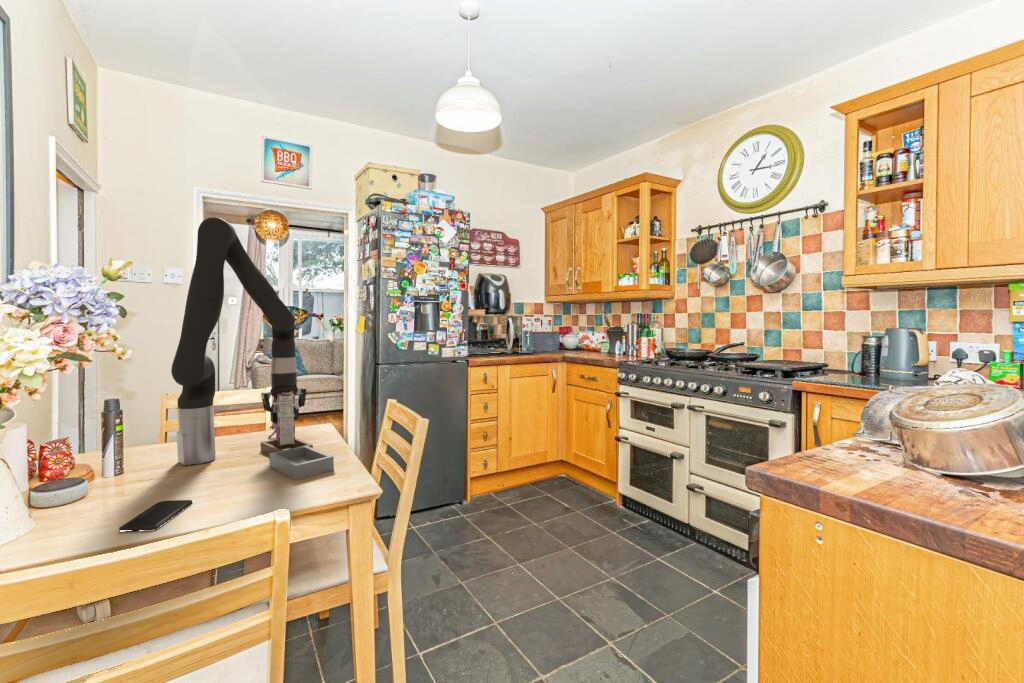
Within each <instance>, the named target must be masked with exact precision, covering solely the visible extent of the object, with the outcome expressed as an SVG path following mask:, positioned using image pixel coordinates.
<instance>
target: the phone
mask: <svg viewBox="0 0 1024 683" xmlns="http://www.w3.org/2000/svg"><path fill="white" fill-rule="evenodd" d="M191 504H192V505H193V500H192V499H182V500H181V499H179V500H163V501H159V502H156V503H154V505H152V506H151V507H148V508H147V509H146V510H144V511H143V512H141V513H139V514H138V515H136V516H135V517H133V518H131V519H130V520H128V521H127V522H125V523H124V524H123V525H120V526H119V527H118V531H119V530H133V531H138V530H153V529H157V528H159V527H160V526H161V525H163V524H164V523H165V522H167V521H168V520H170V519H171V518H172V517H174V516H176V515H177V514H178V513H179V512H181V511H182V510H183V509H185V508H186V507H188V506H189V505H190V506H192V505H191ZM190 506H189V507H190ZM189 507H188V508H189ZM186 509H187V508H186ZM186 509H185V510H186ZM182 512H183V511H182ZM182 512H181V513H182ZM178 515H179V514H178ZM178 515H177V516H178ZM174 518H175V517H174ZM171 520H172V519H171ZM171 520H170V521H171ZM167 523H168V522H167ZM163 526H164V525H163ZM159 529H160V528H159ZM157 530H158V529H157Z"/></svg>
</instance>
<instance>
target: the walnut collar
mask: <svg viewBox="0 0 1024 683" xmlns="http://www.w3.org/2000/svg"><path fill="white" fill-rule="evenodd" d="M290 445H291V446H293V447H292V448H294V447H295V448H297V447H301V446H309V447H311V448H314V446H313V445H314V444H311V443H309V442H307V441H304V440H301V439H299V438H296V437H295V444H290ZM283 446H286V447H288V446H287V445H279V443H278V440H277V438H275V439H270V440H269V439H268V440H265V441H260V451H261V453H264V454H266V455H268V454H269V453H274V452H278V451H283V450H284V449H281V448H284V447H283ZM291 446H290V447H291ZM279 447H281V448H279Z"/></svg>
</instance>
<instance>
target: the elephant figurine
mask: <svg viewBox="0 0 1024 683" xmlns="http://www.w3.org/2000/svg"><path fill="white" fill-rule="evenodd" d="M269 429H272V430H273V432H272V433H271V434H268V436H267V439H268V440H269V439H270V438H271V439H272V437H273V436H275V435H276V424H273V423H272V425H271V426H270V427H269Z"/></svg>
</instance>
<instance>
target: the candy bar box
mask: <svg viewBox="0 0 1024 683" xmlns="http://www.w3.org/2000/svg"><path fill="white" fill-rule="evenodd" d="M276 402H277V411H276V412H277V424H276V428H275V429H276V433H275V437H276V438H275V439H277V440H278V443H279V445H290V444H295V438H296V428H295V427H296V425H295V424H296V423H295V422H296V420H295V409H294V394H293V393H292V392H291V393H289V392H286V393H282V394H281V393H279V394H277V401H276Z"/></svg>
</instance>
